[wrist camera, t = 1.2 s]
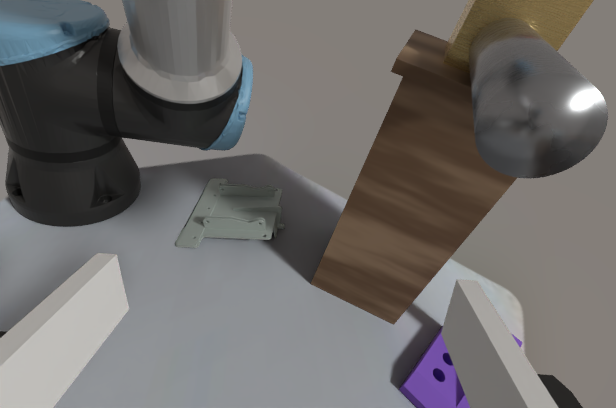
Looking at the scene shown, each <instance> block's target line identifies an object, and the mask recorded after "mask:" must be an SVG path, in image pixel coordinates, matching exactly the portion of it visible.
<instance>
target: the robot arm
mask: <svg viewBox="0 0 616 408" xmlns="http://www.w3.org/2000/svg"><path fill="white" fill-rule="evenodd" d="M232 1H233V0H122V2H123V6H124V10H125V13H126V17H127V22H126V24H125V25H124V26H123V28H122V30H117V29H113V28H110V27H109V19H108V18H107V16H106V14H105V12H104V11H103V10H102V9H101V8H100V7H98V6H97V5H92V4H91V3H89V2H85V1H81V0H0V125H1V127H2V130H3V132H4V135H5V137H6V140H7V143H8V145H9V153H8V164H7V173H6V189H7V193H8V195H9V197H10V200H11V202H12V204H13V206H14V208H15V209H16V210H17V211H18V212H19V213H20V214H21V215H23V216H24V217H26V218H28V219H30V220H32V221H35V222H38V223H42V224H46V225H52V226H82V225H88V224H93V223H97V222H100V221H104V220H106V219H109V218H111V217H114V216H116V215H118V214H119V213H121V212H123V211H124V210H126V209H127V208H128V207H129V206H130V205H132V203H133V202H134V201H135V200H136V198H137V197H138V195H139V193H140V188H141V182H140V173H139V169H138V166H137V165H136V163H135V161H134V159H133V157H132V155H131V154H130V152H129V150H128V148H127V147H126V145H125V143H124V141H123V140H122V138H131V139H138V140H145V141H152V142H160V143H167V144H174V145H182V146H190V147H197V148H199V149H201V150H210V149H214V150H229V149H231V148H233V147H234V146H235V145H236V144H237V142H238V140H239V138H240V136H241V134H242V131H243V128H244V125H245V120H246V114H247V111H248V108H249V104H250V98H251V92H252V83H253V67H252V63H251V61H250V60H249V59H248V58H246V57H244V56H243V55H241V50H240V46H239V44H238V42H237V40H236V38H235V37H234V35H233V34H232V32H231V31H230V23H231V12H232ZM128 310H129V306H128V302H127V298H126V293H125V289H124V285H123V280H122V276H121V272H120V267H119V263H118V259H117V254H103V253H97V254H96V255H95V256H94V257H92V258H91V259H90V260H89V261H88V262H87V263H86V264H84V265H83V266H82V267H81V268H80V269H79V270H78V271H76V272H75V273H74V274H73V275H72V276H71V277H70V278H68V279H67V280H66V281H65V282H64V283H63V284H62V285H60V286H59V287H58V288H57V289H56V290H55V291H54V292H52V293H51V294H50V295H49V296H48V297H47V298H46V299H44V300H43V301H42V302H41V303H40V304H39V305H38V306H37V307H35V308H34V309H33V310H32V311H31V312H30V313H29V314H27V315H26V316H25V317H24V318H23V319H22V320H21V321H19V322H18V323H17V324H16V325H15V326H14V327H13V328H11V329H10V330H9V331H8V332H2V331H1V332H0V408H53V407H54V406H55V405H56V403H57V402H58V401H59V399H60V398H61V397H62V396H63V394H64V393H65V392H66V390H67V389H68V388H69V386H70V385H71V384H72V383H73V381H74V380H75V379H76V377H77V376H78V375H79V373H80V372H81V371H82V370H83V368H84V367H85V366H86V364H87V363H88V362H89V361H90V359H91V358H92V357H93V355H94V354H95V353H96V351H97V350H98V349H99V348H100V346H101V345H102V344H103V342H104V341H105V340H106V338H107V337H108V336H109V335H110V333H111V332H112V331H113V329H114V328H115V327H116V326H117V324H118V323H119V322H120V320H121V319H122V318H123V316H124V315H125V314H126V313H127V311H128ZM441 335H442V337H443V340H444V343H445V345H446V348H447V350H448V353H449V355H450V358H451V360H452V363H453V365H454V368H455V370H456V373H457V375H458V378H459V381H460V383H461V386H462V388H463V391H464V393H465V396H466V398H467V401H468V403H469V406H470V408H583V407H582V406H581V405H580V403H579V402H578V401H577V399H576V398H575V396H574V395H573V393H572V392H571V391H569V389H567V388H566V387H565V386H564V385H563V384H562V383H561V382H560V381H559V380H557V379H556V378H555V377H554V376H553V375H540V374H536V372H535V370H534V369H533V367H532V366H531V364H530V362H529V361H528V360H527V358H526V356H525V355H524V353H523V352H522V350H521V348H520V347H519V345H518V344H517V342H516V341H515V339H514V338H513V336H512V334H511V333H510V331H509V330H508V328H507V327H506V325H505V323H504V322H503V320H502V319H501V317H500V316H499V314H498V313H497V311H496V309H495V308H494V306H493V305H492V303H491V302H490V300H489V299H488V297H487V295H486V294H485V292H484V291H483V289H482V288H481V286H480V285H479V283H478V281H471V280H458V279H457V280H456V283H455V287H454V290H453V294H452V297H451V301H450V304H449V308H448V311H447V315H446V318H445V322H444V325H443V328H442V332H441Z"/></svg>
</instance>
